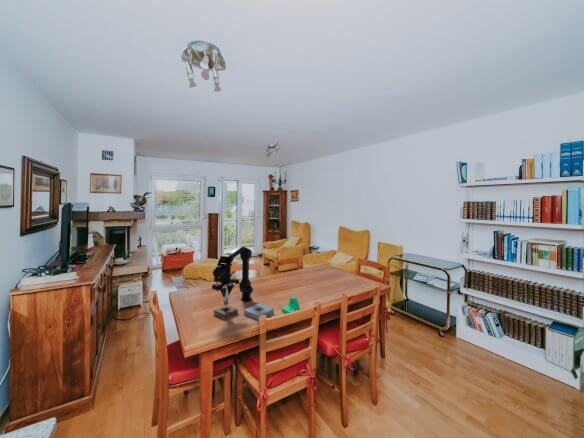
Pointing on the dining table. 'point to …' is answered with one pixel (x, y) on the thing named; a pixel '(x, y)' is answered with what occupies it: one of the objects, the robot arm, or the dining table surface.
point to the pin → (226, 297)
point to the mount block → (225, 311)
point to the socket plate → (258, 311)
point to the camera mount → (291, 306)
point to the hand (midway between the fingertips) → (226, 296)
